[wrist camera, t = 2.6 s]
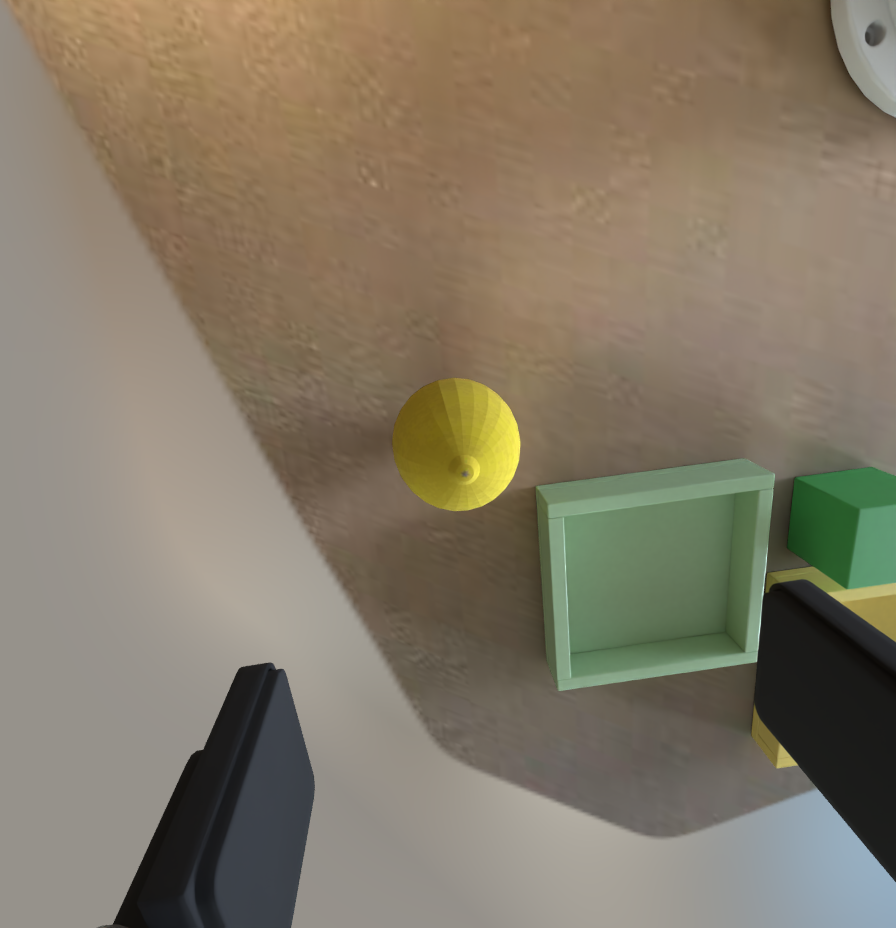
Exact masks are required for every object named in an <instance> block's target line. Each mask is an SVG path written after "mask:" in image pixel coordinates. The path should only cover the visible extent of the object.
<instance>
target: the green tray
mask: <svg viewBox="0 0 896 928" xmlns="http://www.w3.org/2000/svg"><path fill="white" fill-rule="evenodd" d="M774 479H775V474H774V473H772V472H770V471H768V470H766V469H764V468H762V467H760V466H758V465H756V464H754V463H752V462H750V461H749V460H747V459H745V458H742V459H734V460H727V461H719V462H712V463H704V464H697V465H689V466H682V467H675V468H667V469H660V470H652V471H645V472H637V473H630V474H622V475H615V476H607V477H600V478H592V479H585V480H577V481H570V482H562V483H555V484H547V485H540V486H536V503H537V519H538V534H539V550H540V566H541V581H542V597H543V612H544V628H545V644H546V659H547V663H548V666H549V668H550V671H551V674H552V676H553V679H554V682H555V685H556V687H557V690H558V691H562V690H568V689H575V688H582V687H589V686H596V685H603V684H610V683H617V682H623V681H630V680H637V679H644V678H651V677H658V676H665V675H671V674H678V673H685V672H692V671H699V670H706V669H713V668H719V667H726V666H733V665H740V664H747V663H754V662H757V654H758V652H757V650H758V644H759V634H760V623H761V611H762V599H763V592H764V582H765V572H766V561H767V551H768V541H769V531H770V520H771V510H772V500H773V487H774Z"/></svg>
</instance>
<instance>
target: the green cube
mask: <svg viewBox="0 0 896 928" xmlns="http://www.w3.org/2000/svg"><path fill="white" fill-rule="evenodd" d="M787 548H788V549H789V550H790V551H792V552H793V553H795V554H796V555H798V556H799V557H800V558H802V559H803V560H805V561H806V562H808V563H809V564H810V565H812V566H813V567H815V568H816V569H818V570H819V571H821V572H822V573H823V574H825V575H826V576H828V577H829V578H831V579H832V580H834V581H835V582H836V583H838V584H839V585H841V586H842V587H844V588H845V589H855V588H862V587H869V586H876V585H883V584H891V583H896V476H894V475H891V474H888V473H886V472H883V471H881V470H878V469H876V468H873V467H868V468H861V469H853V470H846V471H838V472H831V473H824V474H816V475H809V476H801V477H795V479H794V488H793V497H792V506H791V515H790V524H789V533H788V542H787Z"/></svg>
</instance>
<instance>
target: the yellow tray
mask: <svg viewBox="0 0 896 928" xmlns="http://www.w3.org/2000/svg"><path fill="white" fill-rule="evenodd" d="M799 579H806V580H808V581H810V582H812V583H813V584H815V585H816V586H818V587H819V588H820V589H822V590H823V591H825V592H826V593H827V594H829V595H830V596H832V597H833V598H834V599H836V600H837V601H839V602H840V603H841V604H843V605H844V606H846V607H847V608H848V609H850V610H851V611H853V612H854V613H856V614H857V615H858V616H860V617H861V618H863V619H864V620H865V621H867V622H868V623H870V624H871V625H872V626H874V627H875V628H877V629H878V630H879V631H881V632H882V633H884V634H885V635H886V636H888V637H889V638H891V639H892V640H893V641H895V642H896V583H891V584H883V585H876V586H869V587H862V588H855V589H845V588H844V587H842V586H841V585H839V584H838V583H836V582H835V581H834V580H832V579H831V578H829V577H828V576H826V575H825V574H823V573H822V572H821V571H819V570H818V569H816V568H815V567H813V566H812V567H805V568H798V569H791V570H784V571H776V572H769V573H767V580H766V590H765V593H767V592H769V589H770V587H771V586H772V585H773V584H775V583H780V582H786V581H793V580H799ZM751 736H752V737H753V738H754V740H755V741H756V742H757V744H758V745H759V746H760V748H761V749H762V750H763V752H764V753H765V754H766V755H767V757H768V758H769V759H770V761H771V762H772V763H773V765H774V766H775V767H776V768H782V767H789V766H795V765H798V764H797V763H796V762H795V761H794V760H793V758H792V757H791V756H790V755H789V754H788V752H787V751H786V750H785V749H784V748H783V746H782V745H781V744H780V743H779V742H778V740H777V739H776V738H775V737H774V736H773V734H772V733H771V732H770V731H769V730H768V728H767V727H766V726H765V725H764V724H763V722H762V721H761V720H760V718H759V716H758V714H757V711H756V708H755V702H754V712H753V722H752V732H751Z"/></svg>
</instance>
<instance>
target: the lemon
mask: <svg viewBox="0 0 896 928" xmlns="http://www.w3.org/2000/svg"><path fill="white" fill-rule="evenodd" d="M392 445H393V453H394V460H395V463H396V465H397V468H398V470H399V473H400V475H401V477H402V479H403V480H404V481H405V483H406V484H407V485H408V487H409V488H410V489H411V490H412V492H413V493H415V494H416V495H417V496H419V497H420V498H421V499H422V500H424V501H425V502H427V503H429V504H431V505H433V506H435V507H438V508H441V509H446V510H452V511H462V510H471V509H474V508H478V507H481V506H483V505H485V504H487V503H488V502H490V501H492V500H494V499H495V498H496V497H497V496H498V495H499V494H500V493H501V492H502V491H504V490H505V488H506V487H507V485H508V484H509V482H510V481H511V479H512V478H513V476H514V473H515V470H516V468H517V465H518V462H519V454H520V438H519V432H518V426H517V423H516V421H515V419H514V417H513V414H512V412H511V410H510V408H509V407H508V406H507V404H506V403H505V402H504V401H503V400H502V399H501V397H500V396H499V395H498V394H497V393H495V392H494V391H492V390H491V389H489V388H488V387H486V386H485V385H483V384H480V383H478V382H475V381H472V380H469V379H460V378H449V379H443V380H437V381H435V382H433V383H430V384H428V385H426V386H424V387H422V388H421V389H420V390H418V391H417V392H416V393H414V394H413V395H412V396H411V397H410V398H409V399H408V401H407V402H406V403H405V405H404V406H403V407H402V409H401V411H400V413H399V415H398V418H397V420H396V422H395V425H394V432H393V439H392Z"/></svg>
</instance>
